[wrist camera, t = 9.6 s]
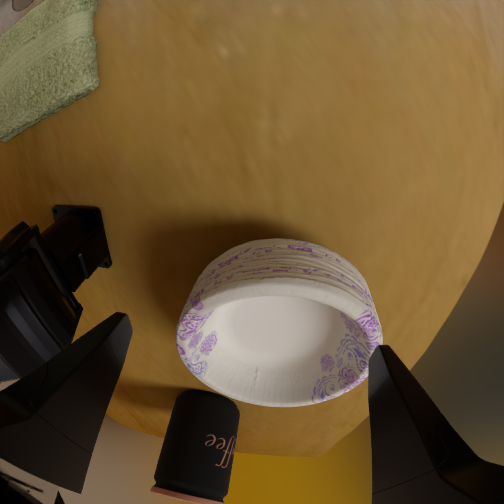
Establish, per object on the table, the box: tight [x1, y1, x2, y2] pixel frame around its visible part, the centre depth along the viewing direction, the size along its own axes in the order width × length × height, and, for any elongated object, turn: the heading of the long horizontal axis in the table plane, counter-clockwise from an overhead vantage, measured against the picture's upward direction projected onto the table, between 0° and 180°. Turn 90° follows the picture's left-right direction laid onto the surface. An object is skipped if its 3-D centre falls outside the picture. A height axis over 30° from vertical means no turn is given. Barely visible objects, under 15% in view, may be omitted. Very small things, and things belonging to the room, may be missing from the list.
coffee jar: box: [151, 390, 240, 504], centre depth 32 cm, size 11×11×18 cm
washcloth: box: [0, 0, 100, 142], centre depth 13 cm, size 13×18×3 cm
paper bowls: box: [175, 238, 383, 407], centre depth 21 cm, size 15×15×8 cm
